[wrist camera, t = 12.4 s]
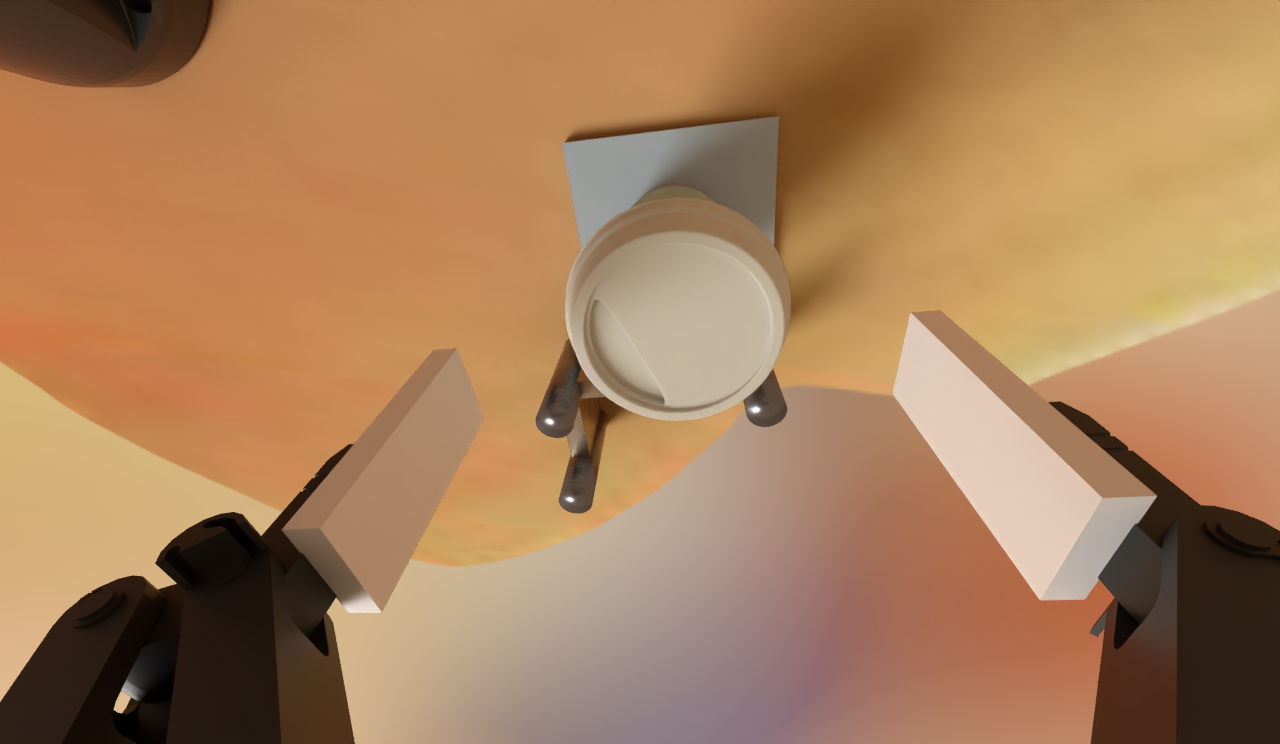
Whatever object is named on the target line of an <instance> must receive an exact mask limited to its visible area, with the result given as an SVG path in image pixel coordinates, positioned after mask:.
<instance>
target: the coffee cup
mask: <svg viewBox="0 0 1280 744" xmlns="http://www.w3.org/2000/svg"><path fill="white" fill-rule="evenodd" d="M790 317H791V298H790V286H789V281H788V276H787V272H786V269H785V266H784V264H783V261H782V259H781V257H780V255H779V253H778V251H777V250H776V248H775V247H774V245H773V244H772V242H771V241H770V240H769V238H768V237H767V236H766V235H765V234H764V233H763V232H762V231H761V230H760V229H759V228H758V227H757V226H756V225H755V224H754V223H753V222H751V221H750V220H749V219H747V218H746V217H744V216H743V215H741V214H739V213H738V212H736V211H734V210H732V209H730V208H728V207H725V206H723V205H720V204H717V203H716V202H715V201H713V200H712V199H711V198H710V197H708V196H707V195H706V194H704V193H703V192H701V191H699V190H697V189H695V188H692V187H689V186H684V185H667V186H663V187H659V188H656V189H654V190H652V191H650V192H648V193H647V194H645V195H644V196H643V197H642V198H641V199H639V200H638V201H637V202H636V203H635V204H634V205H633V206H632V207H631V208H630V209H627V210H625V211H623V212H621V213H620V214H618V215H616V216H615V217H613V218H612V219H610V220H609V221H608V222H606V223H605V224H604V225H603V226H601V227H600V228H599V229H598V230H597V231H596V232H595V233H594V234H593V235H592V236H591V237H590V238H589V240H588V241H587V242H586V243H585V245H584V246H583V248H582V249H581V251H580V252H579V254H578V256H577V258H576V260H575V262H574V264H573V266H572V269H571V272H570V275H569V279H568V283H567V288H566V298H565V318H566V326H567V331H568V335H569V338H570V341H571V344H572V346H573V349H574V351H575V353H576V356H577V359H578V361H579V363H580V365H581V367H582V369H583V370H584V372H585V374H586V376H587V377H588V378H589V380H590V381H591V382H592V383H593V385H594V386H595V387H596V388H597V389H598V390H599V391H600V392H601V393H603V394H604V395H605V396H606V397H607V398H609V399H610V400H611V401H613V402H614V403H616V404H618V405H619V406H621V407H623V408H625V409H627V410H629V411H631V412H634V413H637V414H639V415H642V416H646V417H650V418H655V419H661V420H674V421H676V420H692V419H699V418H703V417H708V416H711V415H714V414H717V413H720V412H722V411H725V410H727V409H729V408H731V407H733V406H735V405H736V404H738V403H739V402H741V401H743V400H744V399H745V398H747V397H748V396H749V395H751V394H752V393H753V392H754V391H755V390H756V389H757V388H758V387H759V386H760V385H761V384H762V383H763V382H764V380H765V379H766V378H767V377H768V375H769V374H770V372H771V371H772V369H773V367H774V365H775V363H776V361H777V359H778V357H779V355H780V352H781V349H782V346H783V344H784V341H785V338H786V335H787V332H788V328H789V323H790Z"/></svg>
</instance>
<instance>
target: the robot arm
mask: <svg viewBox="0 0 1280 744" xmlns="http://www.w3.org/2000/svg"><path fill="white" fill-rule="evenodd" d="M209 1H210V0H0V69H1V70H5V71H9V72H12V73H16V74H19V75H23V76H26V77H30V78H33V79H37V80H41V81H45V82H49V83H55V84H60V85H67V86H74V87H138V86H144V85H149V84H153V83H156V82H159V81H161V80H163V79H165V78H167V77H169V76H171V75H172V74H174V73H175V72H176V71H178V70H179V69H180V68H181V67H182V66H183V65H184V64H185V63H186V62H187V61H188V60H189V58H190V57H191V56H192V54H193V53H194V51H195V49H196V47H197V46H198V44H199V41H200V39H201V37H202V34H203V31H204V28H205V25H206V20H207V15H208V9H209ZM893 395H894V396H895V398H896V399H897V401H898V402H899V403H900V405H901V406H902V407H903V409H904V410H905V412H906V413H907V415H908V416H909V417H910V419H911V420H912V422H913V423H914V424H915V426H916V427H917V429H918V430H919V431H920V433H921V434H922V436H923V437H924V438H925V440H926V441H927V443H928V444H929V445H930V447H931V448H932V450H933V451H934V452H935V454H936V455H937V457H938V458H939V459H940V461H941V462H942V464H943V465H944V466H945V468H946V469H947V470H948V472H949V473H950V475H951V476H952V477H953V479H954V480H955V482H956V483H957V485H958V486H959V487H960V489H961V490H962V492H963V493H964V494H965V496H966V497H967V498H968V500H969V501H970V503H971V504H972V506H973V507H974V508H975V510H976V511H977V512H978V514H979V515H980V517H981V518H982V520H983V521H984V522H985V524H986V525H987V527H988V528H989V529H990V531H991V532H992V534H993V535H994V536H995V538H996V539H997V541H998V542H999V543H1000V545H1001V546H1002V548H1003V549H1004V550H1005V552H1006V553H1007V555H1008V556H1009V557H1010V559H1011V560H1012V562H1013V563H1014V564H1015V566H1016V567H1017V568H1018V570H1019V571H1020V573H1021V574H1022V576H1023V577H1024V578H1025V580H1026V581H1027V583H1028V584H1029V586H1030V587H1031V588H1032V590H1033V591H1034V593H1035V594H1036V595H1037V597H1038V598H1039V599H1040V600H1077V599H1085V598H1086V597H1087V595H1088V594H1089V593H1090V591H1091V590H1092V588H1093V587H1094V585H1095V584H1096V583H1097V581H1098V580H1101V582H1102V583H1103V584H1104V585H1105V586H1106V588H1107V589H1108V590H1109V591H1110V592H1111V593H1112V595H1113V596H1114V597H1115V598H1114V599H1113V601H1112V602H1111V603H1110V605H1109V606H1108V607H1107V609H1106V610H1105V611H1104V613H1103V614H1102V615H1101V617H1100V618H1099V619H1098V620H1097V622H1096V623H1095V624H1094V626H1093V628H1092V630H1091V631H1090V633H1091V634H1093V635H1095V636H1097V637H1098V636H1099V634H1100V633H1101V632H1102V631H1103V629H1105V632H1104V639H1103V648H1102V656H1101V664H1100V672H1099V680H1098V689H1097V697H1096V706H1095V713H1094V721H1093V730H1092V738H1091V744H1280V531H1279V530H1277V529H1275V528H1273V527H1272V526H1270V525H1268V524H1266V523H1264V522H1263V521H1260V520H1258V519H1255V518H1253V517H1250V516H1248V515H1245V514H1243V513H1240V512H1237V511H1233V510H1229V509H1225V508H1221V507H1216V506H1203V505H1202V506H1201V505H1200V504H1198V503H1197V502H1196V501H1195V500H1193V499H1192V498H1191V497H1189V496H1188V495H1187V494H1186V493H1184V492H1183V491H1182V490H1181V489H1180V488H1178V487H1177V486H1176V485H1175V484H1173V483H1172V482H1171V481H1170V480H1168V479H1167V478H1166V477H1165V476H1163V475H1162V474H1161V473H1160V472H1158V471H1157V470H1156V469H1155V468H1153V467H1152V466H1151V465H1150V464H1148V463H1147V462H1146V461H1145V460H1143V459H1142V458H1141V457H1140V456H1139V455H1137V454H1136V453H1135V452H1133V451H1129V450H1128V447H1127V446H1126V445H1125V444H1124V443H1122V442H1121V441H1120V440H1119V439H1117V438H1116V437H1114V436H1110V433H1109V431H1107V430H1106V429H1105V428H1104V427H1102V426H1101V425H1100V424H1098V423H1097V422H1096V421H1095V420H1094V419H1092V418H1091V417H1090V416H1088V415H1087V414H1084V413H1082V412H1080V411H1078V410H1076V409H1074V408H1072V407H1070V406H1068V405H1066V404H1064V403H1062V402H1047V401H1046V400H1044V399H1043V398H1042V397H1041V396H1040V395H1039V394H1037V393H1036V392H1035V391H1034V390H1033V389H1032V388H1030V387H1029V386H1028V385H1027V384H1026V383H1025V382H1023V381H1022V380H1021V379H1020V378H1019V377H1018V376H1016V375H1015V374H1014V373H1013V372H1012V371H1011V370H1009V369H1008V368H1007V367H1006V366H1005V365H1003V364H1002V363H1001V362H1000V361H999V360H998V359H996V358H995V357H994V356H993V355H992V354H991V353H989V352H988V351H987V350H986V349H985V348H984V347H982V346H981V345H980V344H979V343H978V342H977V341H975V340H974V339H973V338H972V337H971V336H970V335H968V334H967V333H966V332H965V331H964V330H963V329H961V328H960V327H959V326H958V325H957V324H956V323H954V322H953V321H952V320H951V319H950V318H948V317H947V316H946V315H945V314H944V313H943V312H941V311H940V310H937V311H924V312H912V313H910V318H909V322H908V327H907V331H906V336H905V340H904V345H903V349H902V354H901V358H900V363H899V367H898V372H897V376H896V381H895V385H894V390H893ZM483 420H484V418H483V415H482V412H481V410H480V407H479V404H478V402H477V399H476V396H475V394H474V391H473V388H472V386H471V383H470V380H469V378H468V375H467V372H466V370H465V367H464V364H463V362H462V359H461V356H460V354H459V351H458V348H454V349H441V350H433V351H432V353H431V354H430V355H429V356H428V357H427V359H426V360H425V361H424V362H423V363H422V364H421V366H420V367H419V368H418V369H417V370H416V372H415V373H414V374H413V375H412V376H411V377H410V379H409V380H408V381H407V382H406V383H405V385H404V386H403V387H402V388H401V389H400V390H399V392H398V393H397V394H396V395H395V396H394V398H393V399H392V400H391V401H390V402H389V403H388V405H387V406H386V407H385V408H384V409H383V411H382V412H381V413H380V414H379V415H378V416H377V418H376V419H375V420H374V421H373V422H372V424H371V425H370V426H369V427H368V428H367V429H366V431H365V432H364V433H363V434H362V435H361V437H360V438H359V439H358V440H357V441H356V442H355V444H349V445H347V446H346V447H345V448H343V449H342V450H341V451H339V452H338V453H337V454H335V455H334V456H332V457H331V458H330V459H329V460H328V461H327V462H326V463H325V464H324V465H323V466H322V468H321V469H320V470H319V471H318V472H317V473H316V474H315V478H312V479H311V480H310V481H309V482H308V484H307V485H306V486H305V487H304V488H303V489H304V490H303V492H300V493H299V494H298V495H297V496H296V497H295V498H294V500H293V501H292V502H291V503H290V504H289V505H288V506H287V507H286V509H285V510H284V511H283V512H282V513H281V514H280V515H279V517H278V518H277V519H276V520H275V521H274V522H273V523H272V525H271V526H270V527H269V528H268V529H267V530H266V532H265V533H264V534H263V535H262V536H260V534H259V533H258V532H257V531H256V530H255V529H254V527H253V526H252V525H251V524H250V523H249V522H248V520H247V519H246V518H245V517H244V516H243V515H242V514H239V513H235V512H231V513H223V514H219V515H216V516H213V517H211V518H207V519H205V520H203V521H201V522H199V523H197V524H195V525H194V526H192V527H190V528H188V529H187V530H185V531H184V532H182V533H181V534H180V535H178V536H177V537H176V538H174V539H173V540H172V541H171V542H170V543H169V544H168V545H167V546H166V547H165V548H164V549H163V550H162V552H161V553H160V555H159V557H158V559H157V561H156V563H155V564H156V565H158V566H159V567H160V568H161V569H162V570H163V571H164V572H165V573H167V575H168V576H170V577H171V578H172V579H173V580H174V581H175V582H176V583H177V584H175V585H171V586H168V587H165V588H161V589H157V588H155V587H154V586H153V585H152V584H151V583H150V582H148V581H147V580H146V579H145V578H144V577H142V576H129V577H124V578H121V579H117V580H115V581H112V582H110V583H108V584H106V585H103V586H101V587H99V588H97V589H95V590H93V591H92V593H88V594H87V595H85V596H84V597H82V598H81V599H80V600H79V601H78V602H77V603H75V604H74V605H73V606H72V607H70V608H69V609H68V610H67V611H66V612H65V613H64V614H63V615H62V616H61V617H60V618H59V619H58V620H57V622H56V623H55V624H54V625H53V626H52V628H51V629H50V631H49V632H48V634H47V635H46V637H45V638H44V639H43V641H42V642H41V644H40V645H39V647H38V648H37V650H36V651H35V652H34V654H33V655H32V657H31V658H30V660H29V661H28V663H27V664H26V666H25V667H24V668H23V670H22V671H21V673H20V674H19V676H18V677H17V679H16V680H15V681H14V683H13V685H12V686H11V687H10V689H9V690H8V692H7V693H6V695H5V696H4V698H3V699H2V700H1V702H0V744H355V742H354V737H353V731H352V726H351V720H350V715H349V709H348V703H347V698H346V692H345V686H344V681H343V675H342V670H341V664H340V659H339V653H338V648H337V642H336V636H335V631H334V625H333V622H332V620H331V618H330V617H329V615H328V614H327V613H326V612H327V610H328V609H329V607H330V606H331V604H332V603H333V601H334V600H335V598H337V599H338V600H339V602H340V603H341V604H342V605H343V606H344V608H345V609H346V610H347V611H348V613H372V612H373V613H376V612H377V613H379V612H382V611H383V609H384V607H385V606H386V604H387V602H388V600H389V598H390V596H391V594H392V592H393V590H394V588H395V587H396V585H397V583H398V581H399V579H400V577H401V575H402V573H403V572H404V569H405V568H406V566H407V564H408V562H409V560H410V558H411V556H412V554H413V553H414V551H415V549H416V547H417V545H418V543H419V541H420V539H421V537H422V536H423V534H424V532H425V530H426V528H427V526H428V524H429V522H430V520H431V519H432V517H433V515H434V513H435V511H436V509H437V507H438V505H439V503H440V502H441V500H442V498H443V496H444V494H445V492H446V490H447V488H448V486H449V485H450V483H451V481H452V479H453V477H454V475H455V473H456V471H457V469H458V467H459V466H460V464H461V462H462V460H463V458H464V456H465V454H466V452H467V450H468V449H469V447H470V445H471V443H472V441H473V439H474V437H475V435H476V433H477V432H478V430H479V428H480V426H481V424H482V422H483ZM121 691H122V692H124V693H125V694H127V695H128V696H130V697H131V699H130V701H129V703H128V705H127V707H126V709H125V710H124V711H123V713H122V714H121V713H117V712H116V711H114V710H113V709H114V706H115V702H116V700H117V697H118V695H119V694H120V692H121Z"/></svg>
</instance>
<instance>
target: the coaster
mask: <svg viewBox="0 0 1280 744" xmlns="http://www.w3.org/2000/svg"><path fill="white" fill-rule="evenodd" d="M778 134H779V116H772V117H764V118H756V119H748V120H740V121H731V122H723V123H715V124H707V125H699V126H691V127H682V128H674V129H666V130H658V131H650V132H641V133H633V134H625V135H617V136H609V137H601V138H592V139H584V140H576V141H568V142H563V143H562V145H563V150H564V156H565V161H566V167H567V172H568V178H569V183H570V189H571V194H572V200H573V205H574V211H575V216H576V222H577V227H578V233H579V238H580V244H581V249H582V248H583V246H584V245H585V243H586V242H587V241H588V240H589V238H590V237H591V236H592V235H593V234H594V233H595V232H596V231H597V230H598V229H599V228H600V227H601V226H603V225H604V224H605V223H606V222H608V221H609V220H610V219H612V218H613V217H615V216H616V215H618V214H620V213H621V212H623V211H625V210H627V209H630V208H631V207H632V206H633V205H634V204H635V203H636V202H637V201H638V200H639V199H641V198H642V197H643V196H644V195H645V194H647V193H648V192H650V191H652V190H654V189H656V188H659V187H663V186H667V185H684V186H689V187H692V188H695V189H697V190H699V191H701V192H703V193H704V194H706V195H707V196H708V197H710V198H711V199H712V200H713V201H715V202H716V203H717V204H720V205H723V206H725V207H728V208H730V209H732V210H734V211H736V212H738V213H739V214H741V215H743V216H744V217H746V218H747V219H749V220H750V221H751V222H753V223H754V224H755V225H756V226H757V227H758V228H759V229H760V230H761V231H762V232H763V233H764V234H765V235H766V236H767V237H768V238H769V240H770V241H771V242H772V244H773V245H774V231H775V207H776V183H777V158H778Z"/></svg>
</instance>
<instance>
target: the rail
mask: <svg viewBox="0 0 1280 744" xmlns="http://www.w3.org/2000/svg"><path fill="white" fill-rule="evenodd" d="M598 397H606V396H605V395H604V394H603V393H601V392H600V391H599V390H598V389H597V388H596V387H595V386H594V385H593V383H592V382H591V381H590V380H589V378H588V377H587V376H586V374H585V372H584V370H583V369H582V367H581V365H580V363H579V361H578V359H577V356H576V353H575V351H574V349H573V346H572V344H571V341H570V339H568V340H567V342H566V344H565V346H564V349H563V351H562V354H561V356H560V359H559V361H558V364H557V366H556V369H555V371H554V374H553V376H552V379H551V381H550V384H549V386H548V389H547V391H546V394H545V396H544V399H543V401H542V404H541V407H540V409H539V412H538V414H537V417H536V425H537V427H538V429H539V430H540V431H541V432H542V433H543V434H545V435H547V436H550V437H554V438H560V437H564V436H567V439H568V443H569V447H570V451H571V455H570V459H569V463H568V467H567V471H566V474H565V478H564V482H563V486H562V489H561V493H560V497H559V503H560V505H561V507H562V508H563V509H565V510H566V511H568V512H571V513H584V512H586V511H588V510H589V509H590V508H591V507H592V502H593V497H594V492H595V486H596V481H597V475H598V470H599V464H600V459H601V453H602V448H603V442H604V437H605V431H606V426H607V416H606V414H605V413H604V412H603V411H601V410H600V406H599V401H598ZM743 401H744V405H745V409H746V414H747V417H748V419H749V420H750V422H752V423H753V424H755V425H757V426H761V427H769V426H773V425H775V424H777V423H779V422H780V421H781V420H783V418H784V417H785V415H786V413H787V406H786V403H785V400H784V397H783V395H782V392H781V389H780V386H779V383H778V381H777V378H776V375H775V372H774V370H773V369H772V371H771V372H770V374H769V375H768V377H767V378H766V379H765V380H764V382H763V383H762V384H761V385H760V386H759V387H758V388H757V389H756V390H755V391H754V392H753V393H752V394H751V395H749V396H748V397H747V398H745V399H744V400H743Z"/></svg>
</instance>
